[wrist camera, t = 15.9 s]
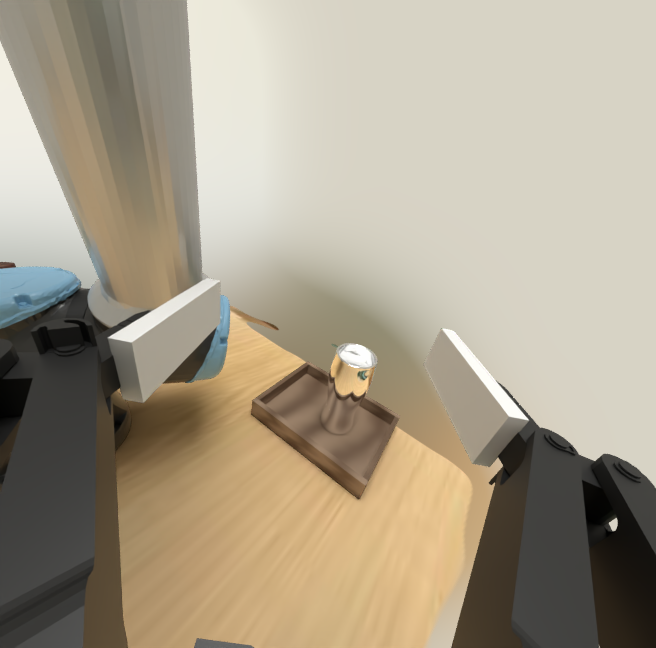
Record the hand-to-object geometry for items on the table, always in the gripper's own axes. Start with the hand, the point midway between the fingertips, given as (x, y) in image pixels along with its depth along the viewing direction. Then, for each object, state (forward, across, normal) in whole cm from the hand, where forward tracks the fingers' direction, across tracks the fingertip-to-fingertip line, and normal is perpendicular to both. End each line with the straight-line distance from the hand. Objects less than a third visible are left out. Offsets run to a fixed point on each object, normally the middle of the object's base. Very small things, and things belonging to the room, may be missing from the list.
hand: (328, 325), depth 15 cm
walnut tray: (+19, +5, -30) cm, 36 cm away
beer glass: (+19, +7, -29) cm, 35 cm away
